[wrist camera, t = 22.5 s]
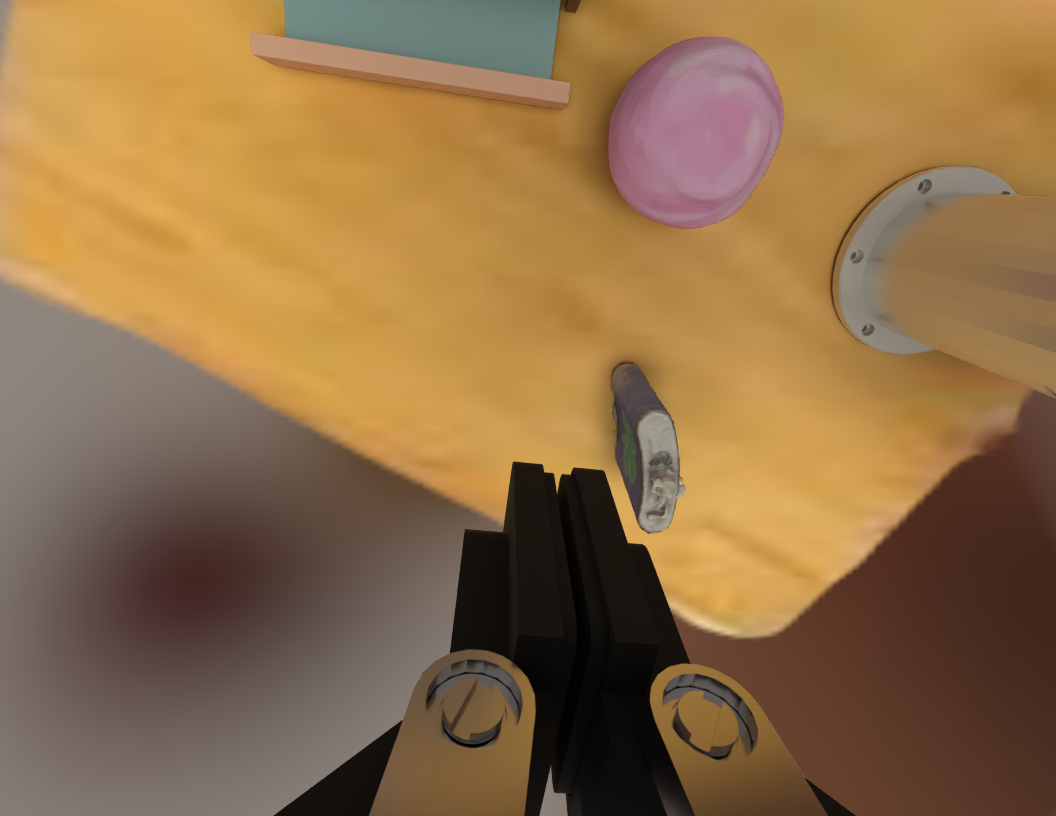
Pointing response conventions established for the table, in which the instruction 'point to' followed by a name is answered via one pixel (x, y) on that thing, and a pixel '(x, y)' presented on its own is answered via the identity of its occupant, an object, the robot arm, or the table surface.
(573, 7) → the cabinet
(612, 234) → the table surface
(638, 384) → the flask
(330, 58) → the tray
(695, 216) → the cupcake
